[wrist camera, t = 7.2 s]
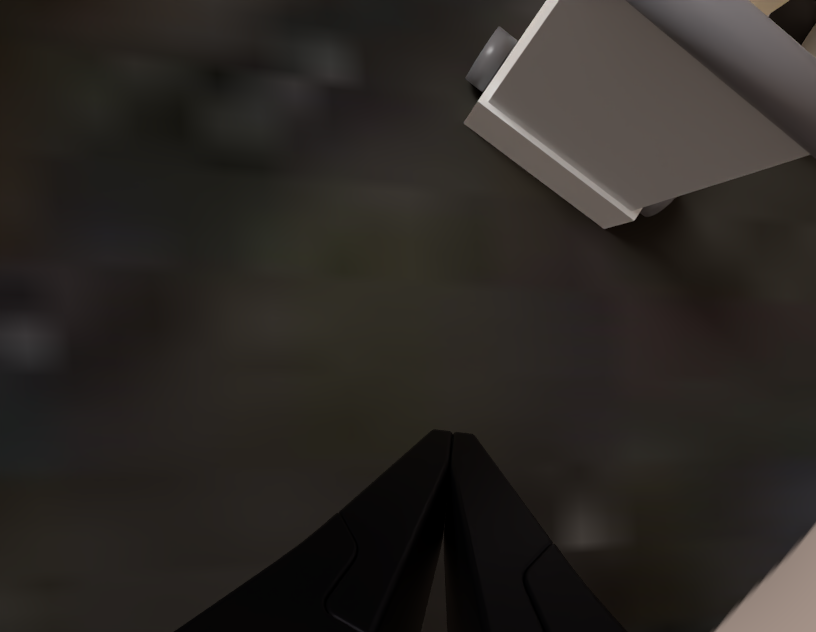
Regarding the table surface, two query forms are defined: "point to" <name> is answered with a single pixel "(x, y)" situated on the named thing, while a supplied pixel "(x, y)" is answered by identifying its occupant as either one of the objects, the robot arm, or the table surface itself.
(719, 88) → the trolley
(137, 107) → the table surface
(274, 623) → the robot arm
